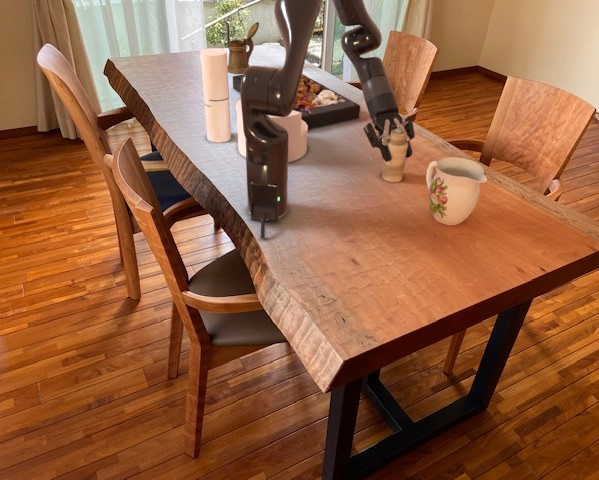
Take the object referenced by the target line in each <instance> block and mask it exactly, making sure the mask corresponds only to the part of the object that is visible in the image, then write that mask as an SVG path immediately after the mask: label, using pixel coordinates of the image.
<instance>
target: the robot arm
mask: <svg viewBox="0 0 599 480" xmlns="http://www.w3.org/2000/svg"><path fill="white" fill-rule="evenodd" d="M331 1H332V4H333V7H334V9H335V12H336V15H337V18H338V20H339V22H340V24H341V25H342V26H344V27H353V26H354V28H351V29H349V30H346V31H344V32H343V33H342V35H341V38H340V46H341V49H342V50H343V52H344V54H345V55H346V57H347V58H348V59H349V61H350V63H351V64H352V65H353V67H354V69H355V71H356V74H357V77H358V80H359V82H360V87H361V90H362V95H363V99H364V102H365V105H366V108H367V111H368V114H369V117H370V119H371V121H372V122H368V123H367V124H365V125H364V127H363V128H362V129H363V131H364V133H365V135H366V138H367V140H368V142H369V144H370V146H371V147H372V148H373V149H375V148H378V149H379V150H380V154H381V156H382V160H383V161H384V160H385V161H386V162H389V161H390V160H392V157H391V154H390V151H389V147H388V146H386V145H387V140H388V137H389V136H390V135H391V131H392V130H394V129H396V128H398V127H400V128H402V129H403V130H404V131H406V132H407V136H406V141H407V142H408V149H407V154H406V159H408V158H410V157H412V156H413V152H414V151H413V149H412V146H411V143H410V142H411V140H412V139H415V137H416V134H415V129H414V123H413V118H412V116H409V115H408V116H407V117H403V116H402V115H400V113H399V110H400V107H399V105H398V102H397V99H396V96H395V93H394V90H393V86H392V84H391V82H390V80H389V78H388V75H387V71H386V67H385V65H384V62H383V60H382V59H381V57H380V56H379V57H378V56H369V57H362V56H363V55H366V54H368V53H370V52H373V51H375V50H377V49H379V48H380V47H381V45H382V40H383V36H382V33H381V30H380V28H379V27H378V25H377V24H376V22H375V21H374V20H373V19H372V17H371V16H370V14H369V12H368V10H367V8H366V5H365V2H364V0H331ZM322 4H323V0H275V3H274V9H273V11H274V17H275V22H276V26H277V28H278V32H279V34H280V36H281V39H282V42H283V46H284V50H285V59H284V62H283V63H284V64H283V66H282V67H281V68H277V67H270V66H262V65H249V67H248V68H247V69H246V70H245V72H244V73H242V75H243V76H242V80H241V91H240V93H239V94H240V98H241V107H242V118H243V131H244V135H245V139H246V158H245V165H246V166H245V167H246V195H247V196H246V197H247V209H246V210H247V211H246V212H247V214H248V215H249V216H250V220H251V221H259V222H261V223H260V238H261V240H264V239H265V237H266V232H265V231H266V222H271V223H272V222H273V223H278V222H279V220H281V219H283V218H284V217H285V216H286V215H287V213H288V183H289V181H288V180H289V179H288V178H289V175H288V172H289V162H288V140H289V137H288V132H287V130H286V129H285V128H284V127H283V126H281V125H280V124H278V123H276V122H275V121H273V120H272V119H271V118H270V117H269V116H268V115H270V116H276V117H287V116H289V115H290V114H291V112H292V110H293V108H294V106H295V103H296V99H297V95H298V91H299V86H300V82H301V77H302V74H303V71H304V66H305V62H306V57H307V54H308V49H309V46H310V42H311V39H312V36H313V32H314V29H315V26H316V23H317V20H318V17H319V14H320V11H321V7H322ZM376 131H377V132H376Z"/></svg>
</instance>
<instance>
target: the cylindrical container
mask: <svg viewBox="0 0 599 480" xmlns="http://www.w3.org/2000/svg"><path fill="white" fill-rule="evenodd" d="M199 52H200V54H199V55H200V64H201V65H200V66H201V77H202V78H201V79H202V91H203V102H204V103H203V104H204V116H205V117H204V118H205V129H206V139H207V140H208V141H209V142H212V143H216V144H217V143H219V144H221V143H226V142H228V141H230V140H231V139H232V129H231V128H232V127H231V108H230V106H231V105H230V85H229V71H228V51H227V50H225V49H224V48H219V47H208V48H203V49H202V50H201V49H200V51H199Z"/></svg>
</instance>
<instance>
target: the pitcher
mask: <svg viewBox="0 0 599 480" xmlns="http://www.w3.org/2000/svg"><path fill="white" fill-rule="evenodd" d="M434 169H435V170H436V171H435V174H434V176H433V171H434ZM425 180H426V185H427V189H428V205H429V210H430V213H431V214H432V217H433V218H434V219H435V221H437V222H439V223H441V224H443V225H447V226H456V225H459V224H461V223H462V222H464V221H465V220H466V219H467V218H468V217H469V216H470V215H471V214H472V212H473V211H474V210H475V207H476V205H477V203H478V200H479V198H480V193H481V184H484V183H487V182H488V177H487V176H486V175H485V168H484V167H483V166H482V165H481V164H479V163H478V162H476V161H474V160H472V159H468V158H464V157H456V156H449V157H448V156H447V157H443V158H441V159H439V160H433V161H432V162H430V163H429V165H428V167H427V170H426V176H425Z"/></svg>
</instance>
